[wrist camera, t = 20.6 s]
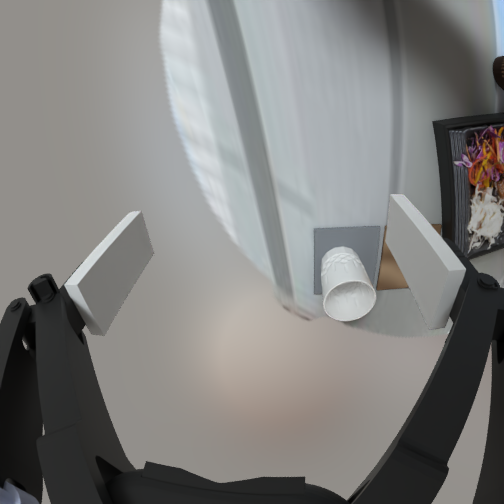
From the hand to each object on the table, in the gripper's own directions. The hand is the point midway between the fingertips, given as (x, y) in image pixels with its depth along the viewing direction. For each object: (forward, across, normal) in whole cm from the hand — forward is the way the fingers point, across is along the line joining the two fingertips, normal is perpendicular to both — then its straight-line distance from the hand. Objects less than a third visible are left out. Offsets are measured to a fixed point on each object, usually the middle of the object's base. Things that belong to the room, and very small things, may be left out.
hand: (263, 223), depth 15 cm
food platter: (+30, +49, -5) cm, 58 cm away
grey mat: (+29, +10, -22) cm, 38 cm away
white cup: (+28, +9, -22) cm, 37 cm away
